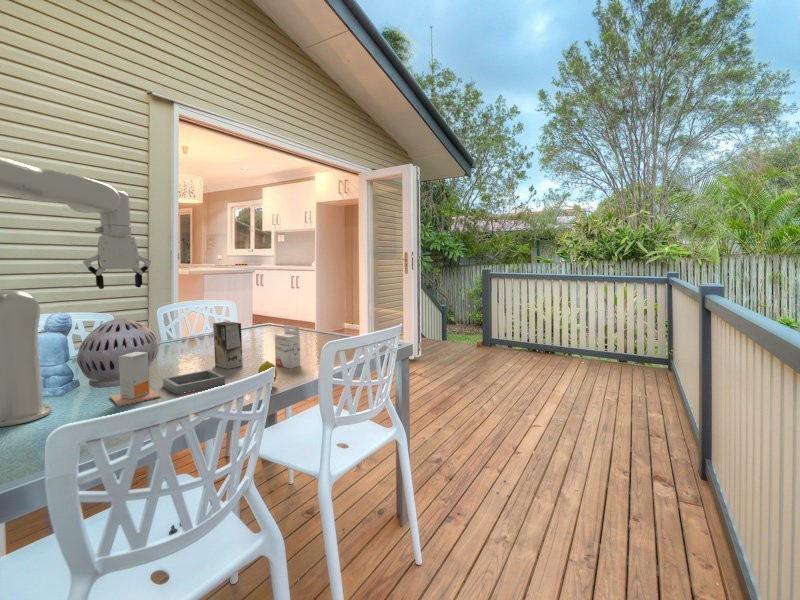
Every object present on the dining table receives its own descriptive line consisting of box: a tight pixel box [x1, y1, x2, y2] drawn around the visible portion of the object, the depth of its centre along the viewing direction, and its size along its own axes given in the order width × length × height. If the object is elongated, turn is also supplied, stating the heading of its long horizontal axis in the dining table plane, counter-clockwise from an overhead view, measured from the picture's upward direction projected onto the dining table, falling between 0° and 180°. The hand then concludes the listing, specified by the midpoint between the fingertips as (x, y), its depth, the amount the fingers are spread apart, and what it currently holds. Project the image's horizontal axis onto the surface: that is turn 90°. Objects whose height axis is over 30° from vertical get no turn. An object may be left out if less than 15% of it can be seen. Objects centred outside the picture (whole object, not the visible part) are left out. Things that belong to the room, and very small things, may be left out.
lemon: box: [257, 360, 278, 383], centre depth 125 cm, size 6×6×8 cm
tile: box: [109, 388, 161, 407], centre depth 115 cm, size 10×10×1 cm
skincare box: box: [118, 351, 151, 399], centre depth 115 cm, size 6×4×12 cm
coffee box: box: [212, 320, 244, 370], centre depth 150 cm, size 9×6×16 cm
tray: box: [162, 369, 226, 396], centre depth 127 cm, size 14×12×2 cm
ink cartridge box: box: [274, 324, 301, 369], centre depth 150 cm, size 9×5×15 cm, turn 58°
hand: (120, 287), depth 126 cm, fingers open, 9 cm apart
